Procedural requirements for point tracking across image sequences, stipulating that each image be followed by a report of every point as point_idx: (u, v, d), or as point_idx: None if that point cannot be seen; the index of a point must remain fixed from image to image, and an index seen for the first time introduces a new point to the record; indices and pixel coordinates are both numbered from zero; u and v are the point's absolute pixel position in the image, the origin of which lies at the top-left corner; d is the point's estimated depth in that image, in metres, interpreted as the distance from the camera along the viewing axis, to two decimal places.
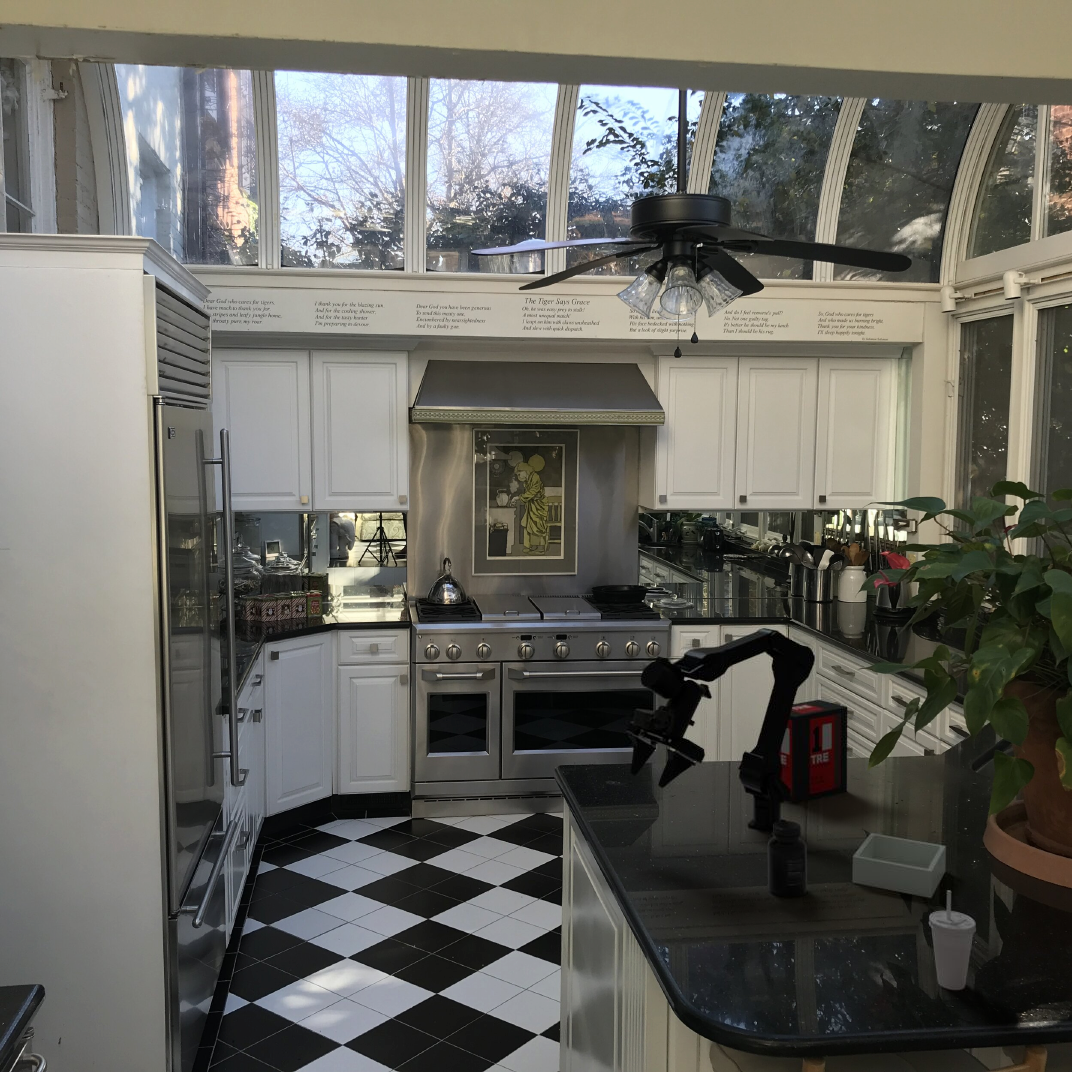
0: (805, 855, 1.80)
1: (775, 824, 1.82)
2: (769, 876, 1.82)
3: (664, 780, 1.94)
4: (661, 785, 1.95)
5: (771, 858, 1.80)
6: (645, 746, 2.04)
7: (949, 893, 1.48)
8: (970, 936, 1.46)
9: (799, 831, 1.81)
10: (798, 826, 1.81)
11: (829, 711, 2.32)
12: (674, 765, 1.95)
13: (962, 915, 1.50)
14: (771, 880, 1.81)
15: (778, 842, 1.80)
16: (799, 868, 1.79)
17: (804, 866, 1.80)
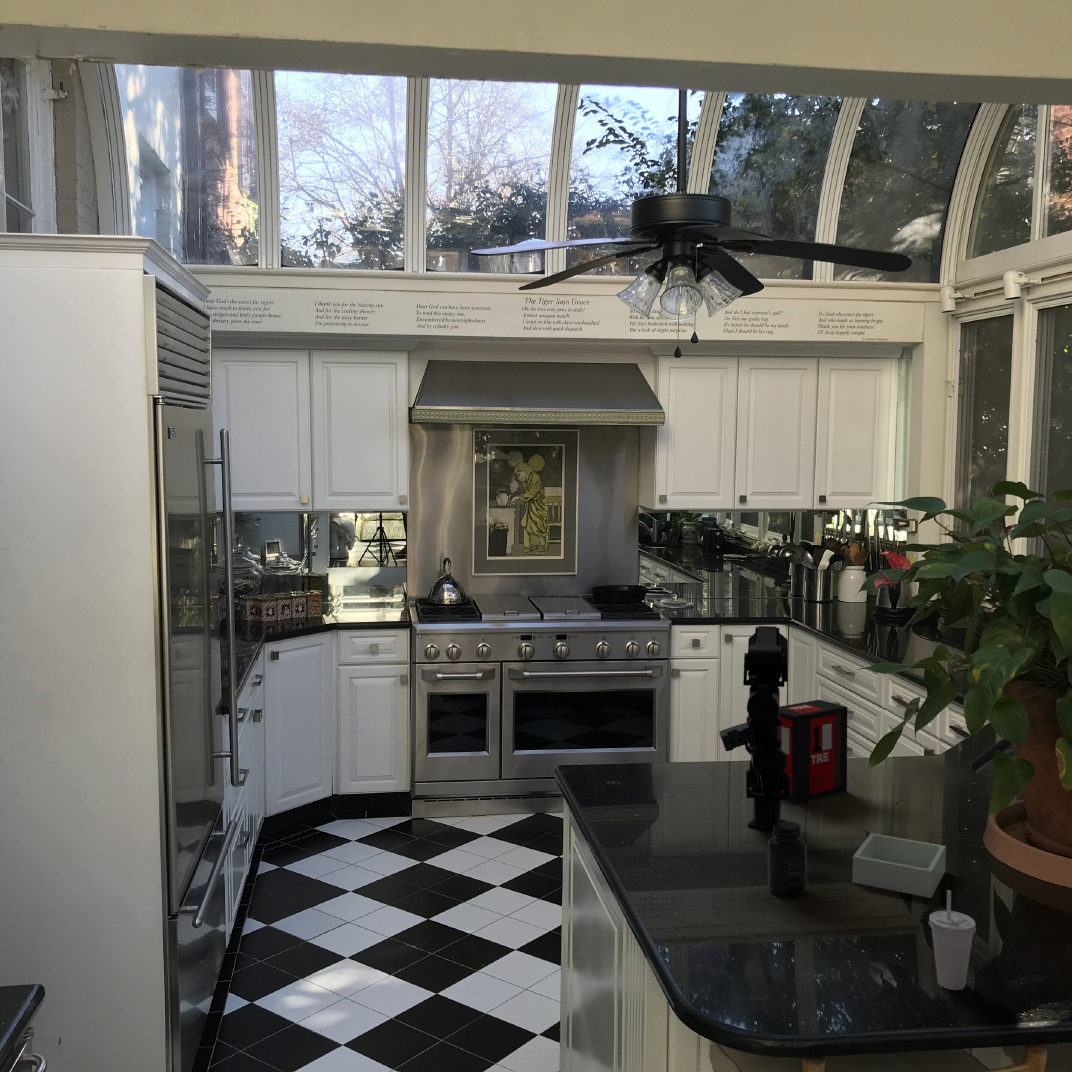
0: (805, 855, 1.80)
1: (775, 824, 1.82)
2: (769, 876, 1.82)
3: (766, 792, 1.92)
4: (767, 796, 1.92)
5: (771, 858, 1.80)
6: None
7: (949, 893, 1.48)
8: (970, 936, 1.46)
9: (799, 831, 1.81)
10: (798, 826, 1.81)
11: (829, 711, 2.32)
12: (767, 775, 1.91)
13: (962, 915, 1.50)
14: (771, 880, 1.81)
15: (778, 842, 1.80)
16: (799, 868, 1.79)
17: (804, 866, 1.80)
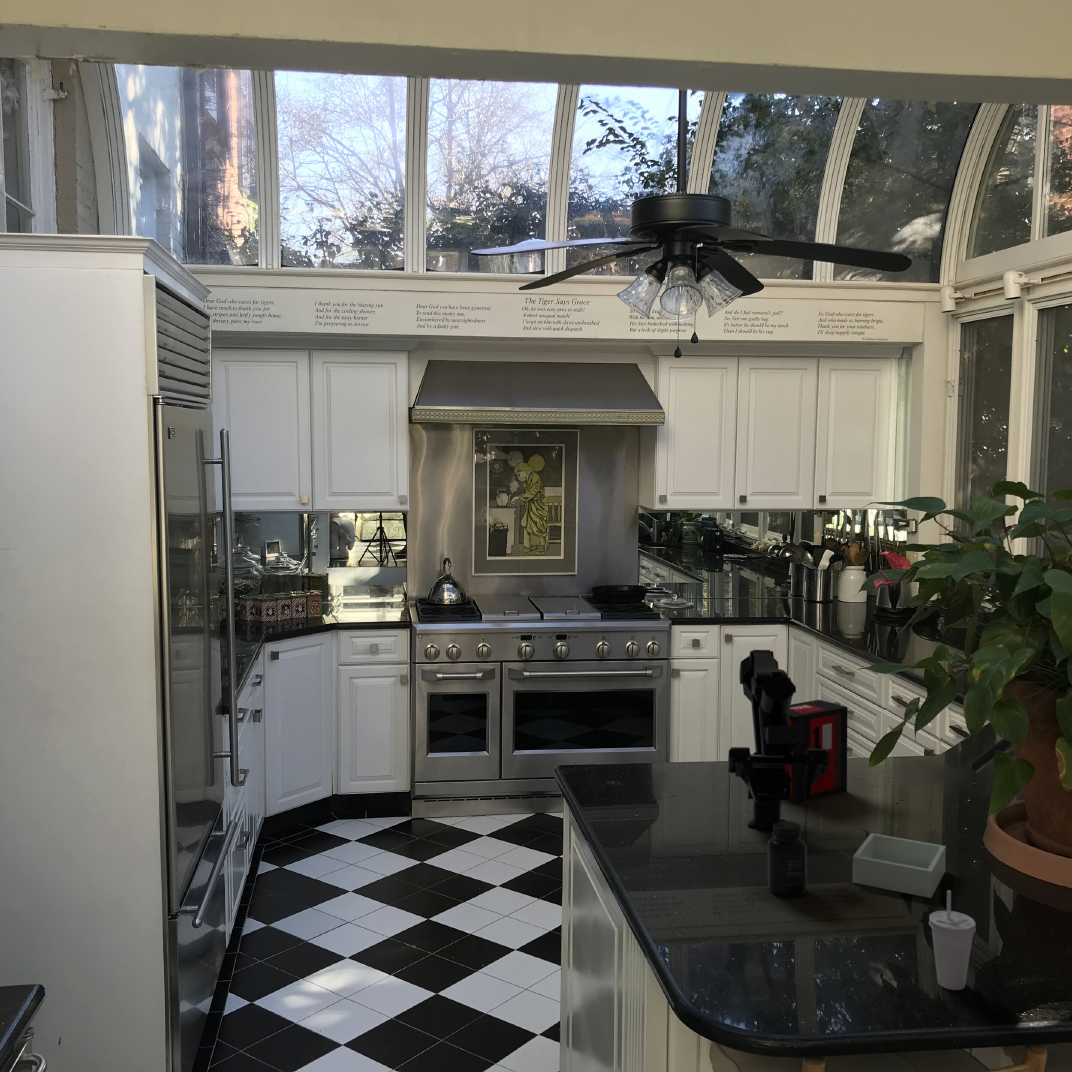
0: (805, 855, 1.80)
1: (775, 824, 1.82)
2: (769, 876, 1.82)
3: (809, 794, 1.90)
4: (807, 800, 1.89)
5: (771, 858, 1.80)
6: None
7: (949, 893, 1.48)
8: (970, 936, 1.46)
9: (799, 831, 1.81)
10: (798, 826, 1.81)
11: (829, 711, 2.32)
12: None
13: (962, 915, 1.50)
14: (771, 880, 1.81)
15: (778, 842, 1.80)
16: (799, 868, 1.79)
17: (804, 866, 1.80)
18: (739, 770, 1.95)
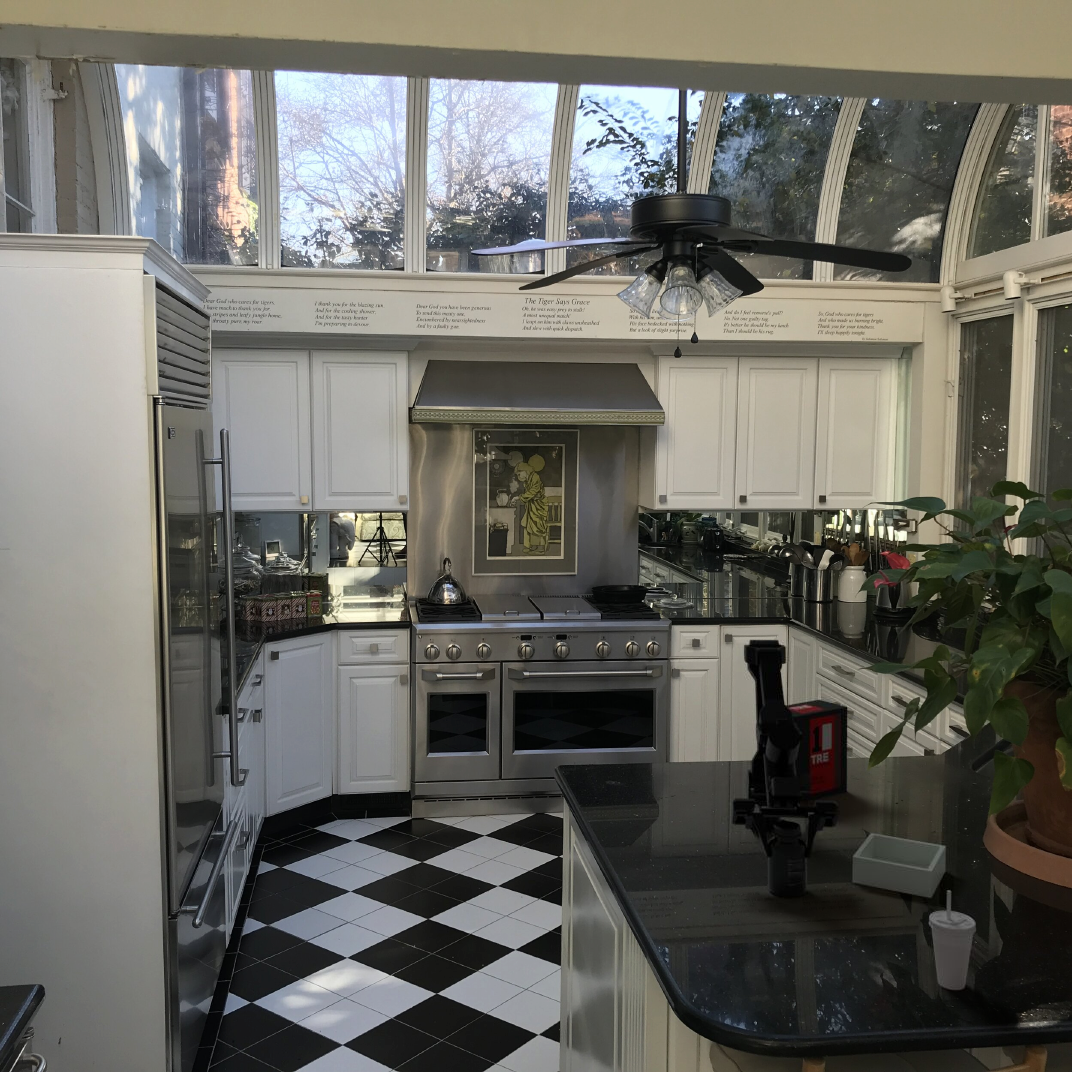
0: (805, 855, 1.80)
1: (775, 824, 1.82)
2: (769, 876, 1.82)
3: (811, 849, 1.81)
4: None
5: (771, 858, 1.80)
6: None
7: (949, 893, 1.48)
8: (970, 936, 1.46)
9: (799, 831, 1.81)
10: (798, 826, 1.81)
11: (829, 711, 2.32)
12: None
13: (962, 915, 1.50)
14: (771, 880, 1.81)
15: (778, 842, 1.80)
16: (799, 868, 1.79)
17: (804, 866, 1.80)
18: (749, 823, 1.86)
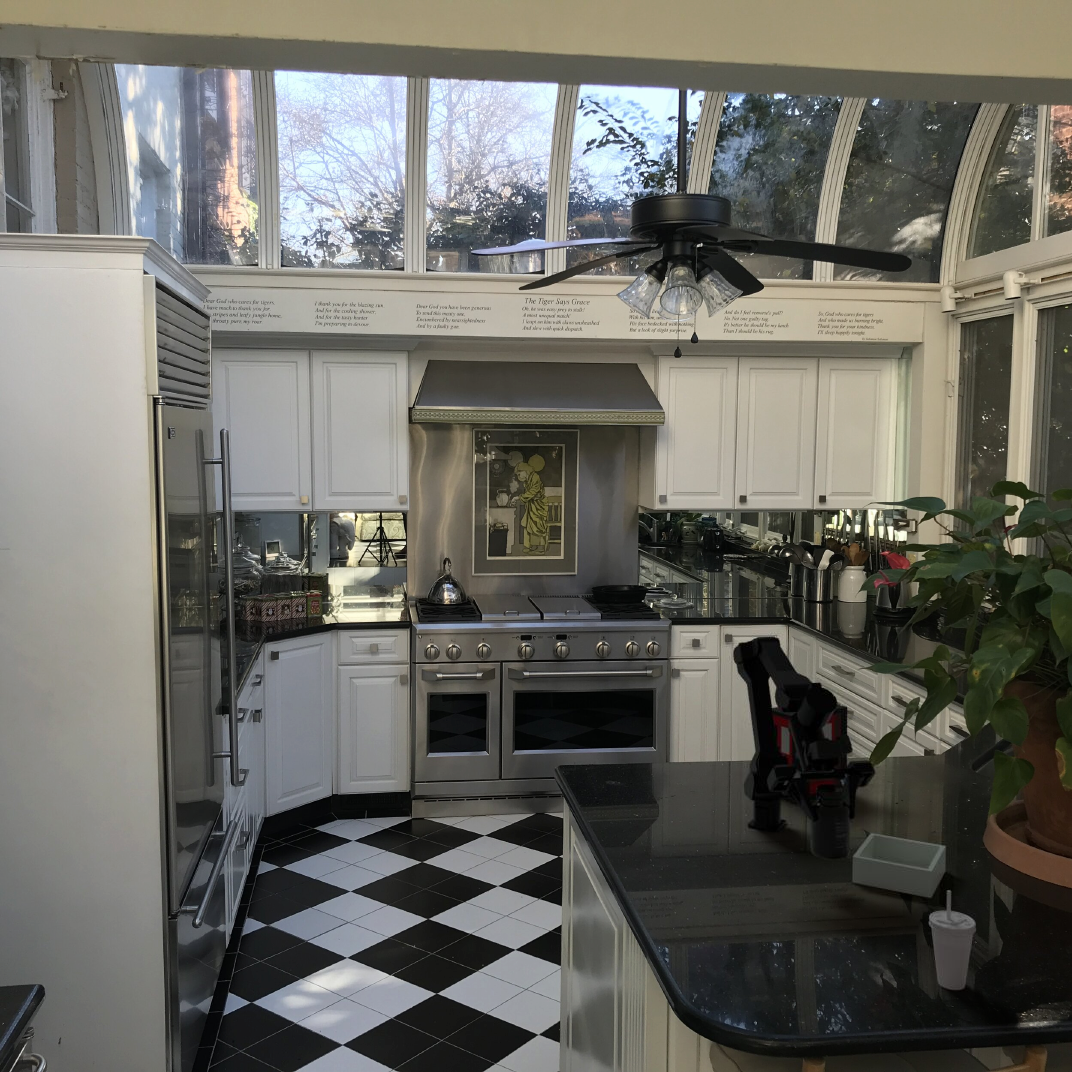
0: (849, 816, 1.80)
1: (819, 788, 1.81)
2: (814, 840, 1.80)
3: None
4: None
5: (818, 822, 1.79)
6: None
7: (949, 893, 1.48)
8: (970, 936, 1.46)
9: None
10: (842, 788, 1.81)
11: None
12: None
13: (962, 915, 1.50)
14: (817, 844, 1.80)
15: (824, 805, 1.79)
16: (846, 829, 1.79)
17: (849, 827, 1.80)
18: (789, 789, 1.84)
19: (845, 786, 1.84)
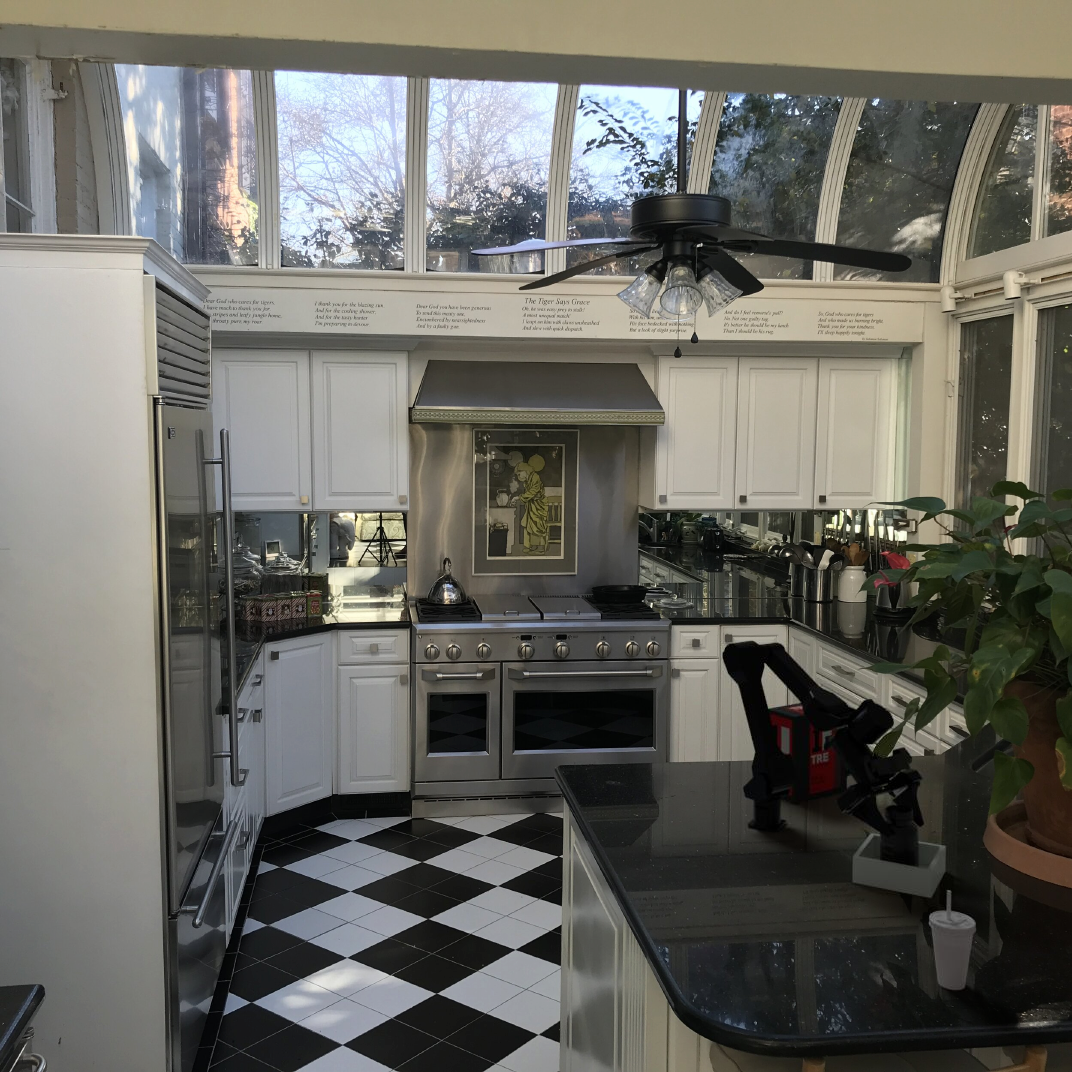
0: None
1: (891, 810, 1.86)
2: None
3: None
4: None
5: (897, 844, 1.84)
6: None
7: (949, 893, 1.48)
8: (970, 936, 1.46)
9: None
10: (908, 807, 1.87)
11: None
12: None
13: (962, 915, 1.50)
14: None
15: (900, 827, 1.84)
16: (918, 846, 1.86)
17: None
18: (858, 808, 1.85)
19: (904, 795, 1.92)
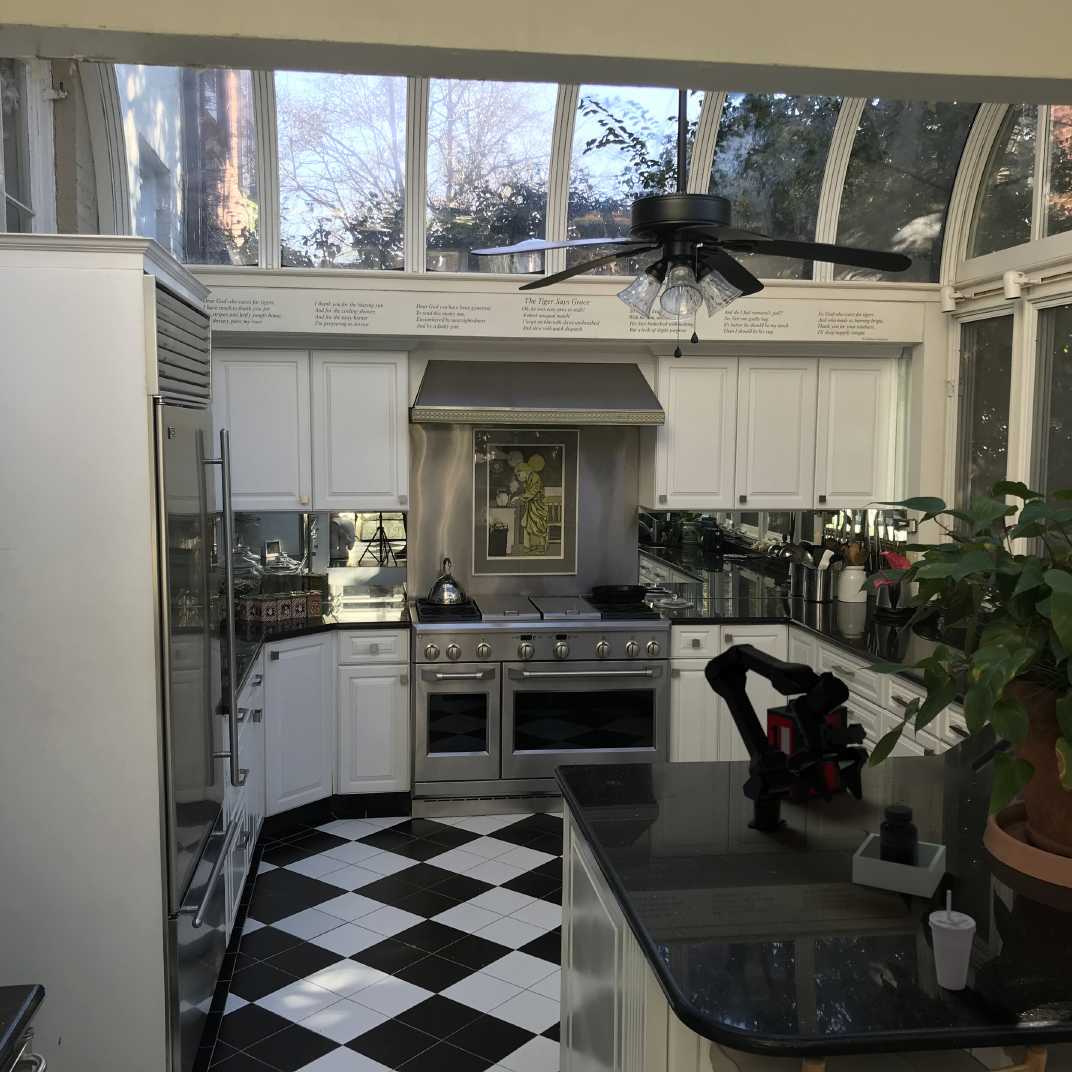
0: None
1: (890, 810, 1.86)
2: None
3: None
4: None
5: (897, 844, 1.84)
6: None
7: (949, 893, 1.48)
8: (970, 936, 1.46)
9: None
10: (908, 807, 1.87)
11: None
12: None
13: (962, 915, 1.50)
14: None
15: (900, 827, 1.84)
16: (918, 846, 1.86)
17: None
18: (807, 770, 1.91)
19: (849, 769, 1.98)
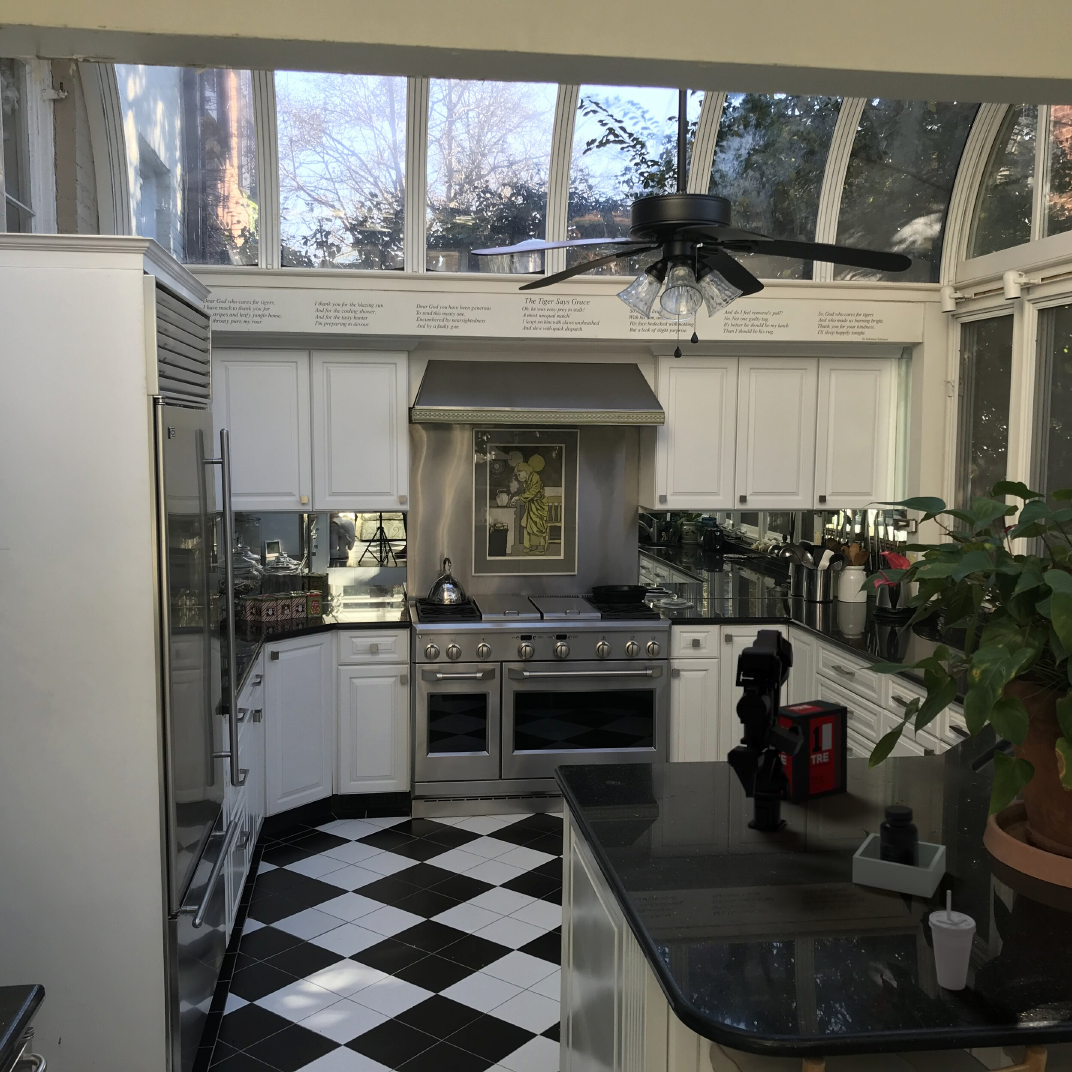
0: None
1: (890, 810, 1.86)
2: None
3: None
4: None
5: (897, 844, 1.84)
6: None
7: (949, 893, 1.48)
8: (970, 936, 1.46)
9: None
10: (908, 807, 1.87)
11: (829, 711, 2.32)
12: None
13: (962, 915, 1.50)
14: None
15: (900, 827, 1.84)
16: (918, 846, 1.86)
17: None
18: None
19: (767, 753, 2.05)
